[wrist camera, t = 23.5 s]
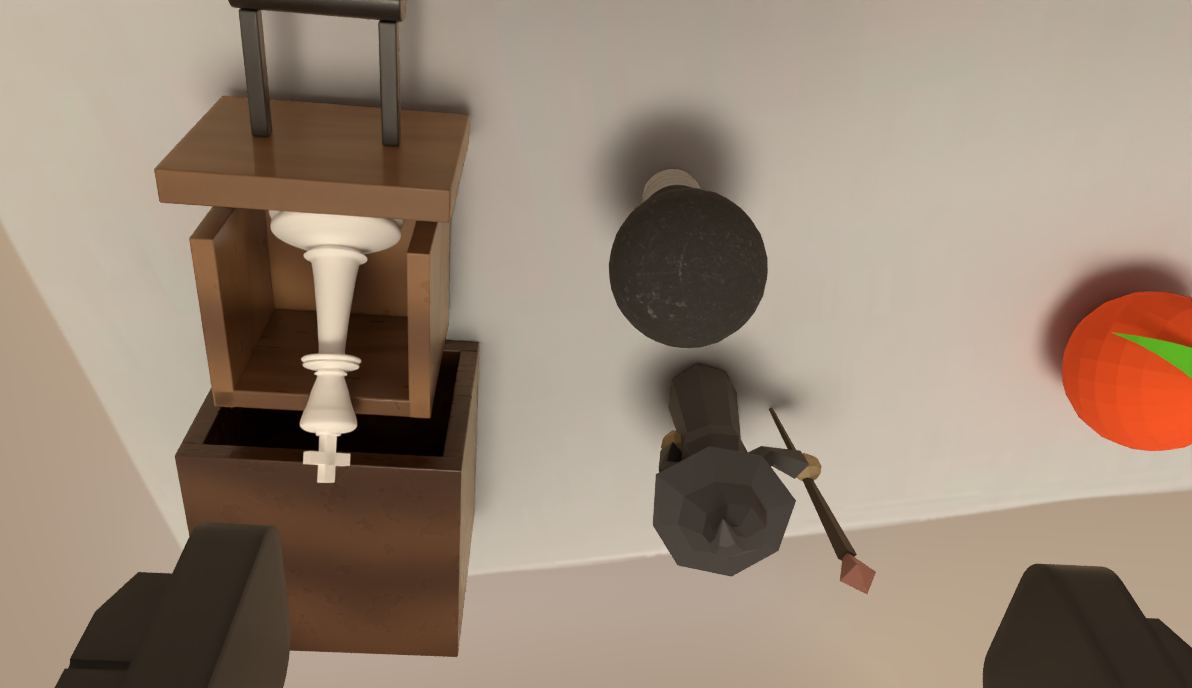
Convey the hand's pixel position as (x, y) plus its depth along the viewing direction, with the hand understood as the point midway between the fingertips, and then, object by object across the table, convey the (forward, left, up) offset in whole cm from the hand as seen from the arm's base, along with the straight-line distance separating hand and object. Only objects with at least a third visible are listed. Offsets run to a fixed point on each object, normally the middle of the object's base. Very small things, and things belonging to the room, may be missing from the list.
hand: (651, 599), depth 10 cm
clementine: (-24, +14, -30) cm, 41 cm away
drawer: (+9, +7, -29) cm, 31 cm away
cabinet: (+9, +21, -30) cm, 38 cm away
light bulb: (-4, +8, -30) cm, 32 cm away
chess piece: (+9, +8, -26) cm, 29 cm away
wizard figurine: (-8, +18, -30) cm, 36 cm away
